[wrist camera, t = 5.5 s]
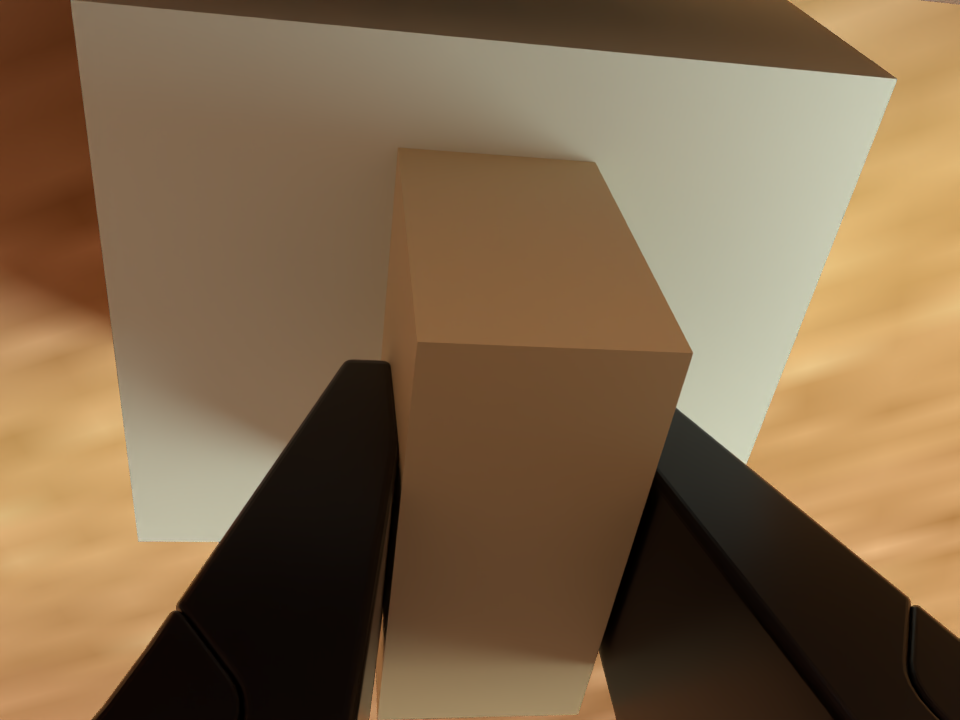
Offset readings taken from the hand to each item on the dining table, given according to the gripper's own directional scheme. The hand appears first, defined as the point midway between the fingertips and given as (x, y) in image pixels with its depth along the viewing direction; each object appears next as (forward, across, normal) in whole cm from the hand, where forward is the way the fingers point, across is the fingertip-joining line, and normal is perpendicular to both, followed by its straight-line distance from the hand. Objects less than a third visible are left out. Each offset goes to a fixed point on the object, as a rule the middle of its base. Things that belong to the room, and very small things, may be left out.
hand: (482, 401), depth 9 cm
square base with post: (+4, 0, 0) cm, 4 cm away
